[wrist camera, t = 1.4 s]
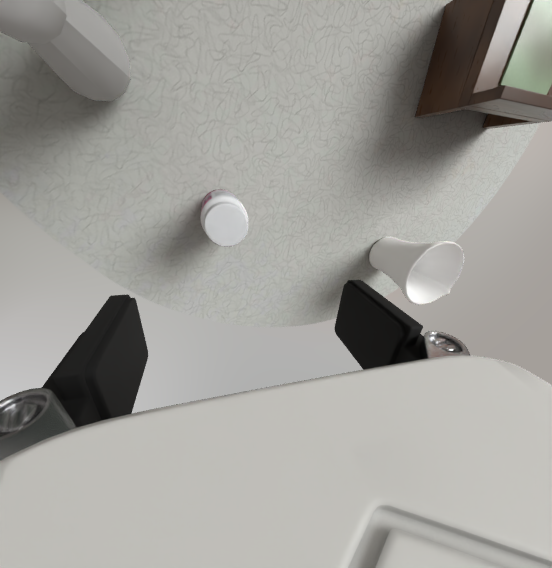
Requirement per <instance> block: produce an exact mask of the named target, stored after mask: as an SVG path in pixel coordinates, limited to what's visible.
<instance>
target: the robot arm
mask: <svg viewBox="0 0 552 568" xmlns="http://www.w3.org/2000/svg"><path fill="white" fill-rule="evenodd" d="M422 328H423V326H422V325H420V324H419V323H418V322H417V321H415V320H414V319H413V318H411V317H410V316H409V315H407V314H406V313H404V312H403V311H402V310H400V309H399V308H398V307H396V306H395V305H394V304H392V303H391V302H390V301H388V300H387V299H386V298H384V297H383V296H382V295H380V294H379V293H378V292H376V291H375V290H374V289H372V288H371V287H370V286H368V285H367V284H366V283H364V282H363V281H361V280H349V281H348V282H347V283H346V284H345V285H344V287H343V292H342V296H341V301H340V305H339V310H338V314H337V319H336V324H335V332H336V334H337V336H338V337H339V338H340V340H341V341H342V342H343V343H344V345H345V346H346V347H347V349H348V350H349V351H350V353H351V354H352V355H353V357H354V358H355V359H356V360H357V362H358V363H359V364H360V366H361V367H362V368H363V369H364V370H359V371H354V372H348V373H342V374H337V375H331V376H326V377H320V378H315V379H310V380H304V381H298V382H293V383H288V384H283V385H277V386H272V387H266V388H261V389H255V390H251V391H245V392H240V393H234V394H229V395H224V396H219V397H213V398H208V399H203V400H197V401H192V402H187V403H182V404H176V405H171V406H166V407H161V408H156V409H151V410H146V411H142V412H137V413H133V414H131V413H132V409H133V406H134V403H135V399H136V396H137V392H138V389H139V386H140V382H141V379H142V376H143V372H144V369H145V366H146V362H147V358H148V350H147V346H146V341H145V337H144V333H143V328H142V324H141V320H140V316H139V312H138V307H137V303H136V300H135V298H130V296H129V295H115V296H110V297H109V299H108V300H107V301H106V303H105V304H104V306H103V307H102V308H101V310H100V311H99V313H98V314H97V316H96V317H95V318H94V320H93V321H92V322H91V324H90V325H89V326H88V328H87V329H86V331H85V332H83V333H82V334H81V335H80V336H79V337H78V339H77V340H76V342H75V343H74V344H73V346H72V347H71V348H70V350H69V351H68V353H67V354H66V355H65V357H64V358H63V359H62V361H61V362H60V363H59V365H58V366H57V368H56V369H55V370H54V372H53V373H52V374H51V376H50V377H49V379H48V380H47V381H46V383H45V384H44V385H43V387H42V388H36V389H29V390H26V391H22V392H19V393H16V394H14V395H11V396H9V397H7V398H5V399H3V400H1V401H0V568H552V385H550V384H549V383H547V382H546V381H544V380H542V379H541V378H539V377H537V376H535V375H534V374H532V373H530V372H529V371H527V370H525V369H523V368H521V367H519V366H517V365H514V364H512V363H509V362H506V361H502V360H498V359H493V358H487V357H481V356H470V354H469V351H468V349H467V347H466V346H465V345H464V344H463V343H462V342H461V341H460V340H458V339H456V338H455V337H453V336H450V335H449V334H446V333H443V332H438V331H428V332H426V333H425V335H424V336H422V335H421V334H420V333H421V330H422Z"/></svg>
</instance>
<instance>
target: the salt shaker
mask: <svg viewBox="0 0 552 568" xmlns="http://www.w3.org/2000/svg"><path fill="white" fill-rule="evenodd" d="M0 32H2V33H4V34H6V35H8V36H10V37H13V38H15V39H17V40H19V41H21V42H27V43H28V44H29V45H30V46H31V47H32V48H33V49H34V50H35V51H36V52H37V53H38V54H39V55H40V56H41V58H42V59H43V60H44V61H45V62H46V63H47V64H48V65H49V67H50V68H51V69H52V70H53V71H54V72H55V73H56V74H57V75H58V76H59V77H60V78H61V79H62V80H63V81H64V82H65V83H66V84H67V85H68V86H69V87H70V88H71V89H72V90H73V91H74V92H76V93H78V94H80V95H83V96H85V97H87V98H89V99H91V100H95V101H113V100H115V99H116V98H118V97H120V96H121V95H123V94H124V93H125V91H126V89H127V87H128V84H129V82H130V80H131V73H130V60H129V57H128V55H127V52H126V50H125V48H124V45H123V43H122V41H121V38H120V36H119V35H118V34H117V32H116V31H115V30H114V29H113V28H112V26H111V25H110V24H109V23H108V22H107V21H106V19H105V18H104V17H103V16H102V15H100V14H99V13H98V12H96V11H95V10H94V9H93V8H91V7H90V6H89V5H87V4H86V3H85V2H83V1H82V0H0Z"/></svg>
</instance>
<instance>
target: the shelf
mask: <svg viewBox="0 0 552 568" xmlns="http://www.w3.org/2000/svg"><path fill="white" fill-rule="evenodd" d="M464 109H467V110H473V111H478V112H483V113H488V115H487V117H486V120H485V122H484V125H483V128H488V129H490V128H498V127H507V126H515V125H524V124H532V123H541V122H549V121H552V0H453V1H451V2H450V3H448V4H446V7H445V10H444V14H443V18H442V21H441V25H440V28H439V32H438V36H437V39H436V43H435V46H434V50H433V54H432V57H431V61H430V64H429V68H428V72H427V75H426V79H425V82H424V86H423V90H422V93H421V97H420V101H419V104H418V108H417V111H416V115H415V117H419V118H425V117H430V116H435V115H440V114H445V113H450V112H455V111H460V110H464Z"/></svg>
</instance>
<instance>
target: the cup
mask: <svg viewBox="0 0 552 568" xmlns="http://www.w3.org/2000/svg"><path fill="white" fill-rule="evenodd" d="M369 260H370V263H371V265H372V266H373V267H374V268H376V269H378V270H380V271H382V272H383V273H385V274H386V275H388V276H389V277H390V278H391V279H392V280H393V281H394V282H395V283H396V284H397V285H398V286H399V287H400V288H401V290H402V292H403V294H404V295H405V297H406V298H407V299H408V300H409V302H411V303H413V304H418V305H421V304H427V303H430V302H433V301H434V300H436V299H438V298H439V297H441V296H443V295H448V294H449V293H450V289H451V287H452V286H453V285H454V283H455V282H456V280H457V279H458V277H459V275H460V272H461V270H462V267H463V264H464V253H463V250H462V248H461V247H460V246H459V245H458V244H456V243H454V242H451V241H437V242H432V243H422V242H417V243H415V242H407V241H403V240H399V239H397V238H395V237H390V236H388V237H384V238H382V239H380V240H379V241H377V242H376V243H375V244H374V245H373V247H372V249H371V251H370V254H369Z"/></svg>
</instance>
